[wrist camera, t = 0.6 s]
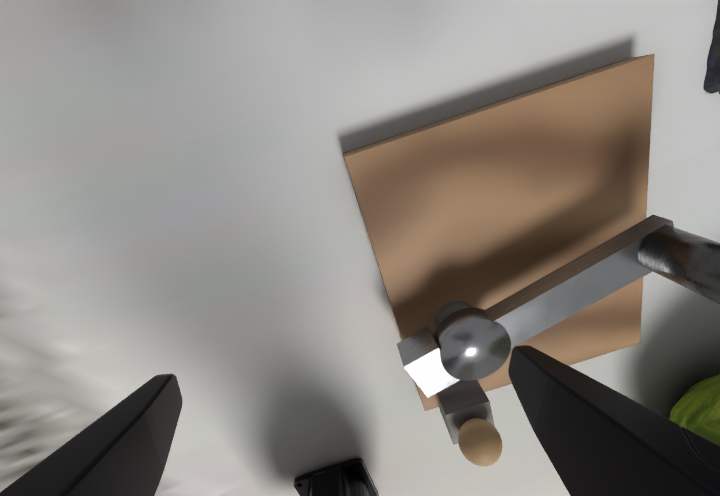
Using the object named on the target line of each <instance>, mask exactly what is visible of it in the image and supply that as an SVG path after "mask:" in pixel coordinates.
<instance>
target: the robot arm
mask: <svg viewBox="0 0 720 496" xmlns="http://www.w3.org/2000/svg"><path fill="white" fill-rule="evenodd" d="M508 374H509V378H510V380H511V382H512V384H513V387H514V389H515V391H516V393H517V396H518V398H519V400H520V402H521V404H522V407H523V409H524V411H525V413H526V415H527V418H528V420H529V422H530V424H531V426H532V428H533V430H534V432H535V434H536V436H537V438H538V440H539V441H540V443H541V445H542V447H543V448H544V450H545V452H546V454H547V455H548V457H549V459H550V461H551V462H552V464H553V466H554V468H555V469H556V471H557V473H558V474H559V476H560V478H561V480H562V481H563V483H564V485H565V487H566V488H567V490H568V492H569V494H570V495H571V496H720V446H719V445H717V444H715V443H713V442H711V441H709V440H707V439H705V438H703V437H701V436H700V435H698V434H696V433H694V432H692V431H690V430H688V429H687V428H685V427H680V425H679V424H677V423H675V422H673V421H671V420H669V419H667V418H666V417H664V416H662V415H660V414H658V413H656V412H654V411H652V410H651V409H649V408H647V407H645V406H643V405H641V404H639V403H637V402H635V401H634V400H632V399H630V398H628V397H626V396H624V395H622V394H620V393H618V392H617V391H615V390H613V389H611V388H609V387H607V386H605V385H603V384H601V383H600V382H598V381H596V380H594V379H592V378H590V377H588V376H586V375H585V374H583V373H581V372H579V371H577V370H575V369H573V368H571V367H569V366H568V365H566V364H564V363H562V362H560V361H558V360H556V359H554V358H552V357H551V356H549V355H547V354H545V353H543V352H541V351H539V350H537V349H535V348H534V347H532V346H529V345H521V346H515V347H514V348H513V349H512V353H511V358H510V363H509V368H508ZM181 408H182V396H181V392H180V389H179V385H178V381H177V378H176V376H175V375H174V374H162V375H156V376H155V377H153V378H152V379H150V380H149V381H148V382H146V383H145V384H144V385H142V386H141V387H140V388H138V389H137V390H136V391H134V392H133V393H132V394H130V395H129V396H128V397H127V398H125V399H124V400H123V401H121V402H120V403H119V404H117V405H116V406H115V407H113V408H112V409H111V410H109V411H108V412H107V413H105V414H104V415H103V416H101V417H100V418H99V419H97V420H96V421H95V422H93V423H92V424H91V425H89V426H88V427H87V428H85V429H84V430H83V431H81V432H80V433H79V434H77V435H76V436H75V437H73V438H72V439H71V440H69V441H68V442H67V443H65V444H64V445H63V446H61V447H60V448H59V449H57V450H56V451H55V452H53V453H52V454H51V455H49V456H48V457H47V458H45V459H44V460H43V461H42V462H40V463H39V464H38V465H36V466H35V467H34V468H32V469H31V470H30V471H28V472H27V473H26V474H24V475H23V476H22V477H20V478H19V479H18V480H16V481H15V482H14V483H12V484H11V485H10V486H8V487H7V488H6V489H4V490H3V491H2V492H0V496H154V495H155V492H156V490H157V487H158V485H159V482H160V479H161V477H162V474H163V471H164V468H165V465H166V461H167V458H168V454H169V451H170V447H171V444H172V440H173V437H174V433H175V429H176V426H177V422H178V419H179V415H180V412H181ZM294 487H295V488H296V490H297V491H298V493H299V495H300V496H379V495H378V493H377V491H376V489H375V487H374V484H373V482H372V480H371V478H370V476H369V474H368V472H367V469H366V467H365V465H364V463H363V461H362V460H361V459H354V460H351V461H348V462H345V463H341V464H338V465H335V466H332V467H329V468H326V469H322V470H319V471H316V472H313V473H310V474H307V475H303V476H300V477H297V478H296V479H295V481H294Z"/></svg>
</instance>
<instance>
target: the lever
mask: <svg viewBox="0 0 720 496" xmlns="http://www.w3.org/2000/svg"><path fill="white" fill-rule="evenodd" d="M652 271H653V272H655V273H657V274H660V275H662V276H664V277H666V278H668V279H670V280H672V281H674V282H676V283H678V284H680V285H682V286H684V287H686V288H688V289H690V290H692V291H694V292H696V293H698V294H700V295H702V296H704V297H706V298H708V299H711V300H713V301H715V302H717V303H719V304H720V243H718V242H715V241H712V240H709V239H706V238H703V237H700V236H697V235H694V234H691V233H689V232H686V231H683V230H680V229H677V228H674V225H673V221H671V220H668V219H665V218H662V217H659V216H656V215H651V216H650V217H648V218H646V219H644V220H643V221H641V222H639V223H637V224H636V225H634V226H632V227H630V228H629V229H627V230H625V231H623V232H621V233H620V234H618V235H616V236H614V237H613V238H611V239H609V240H607V241H606V242H604V243H602V244H600V245H599V246H597V247H595V248H593V249H592V250H590V251H588V252H586V253H584V254H583V255H581V256H579V257H577V258H576V259H574V260H572V261H570V262H569V263H567V264H565V265H563V266H562V267H560V268H558V269H556V270H555V271H553V272H551V273H549V274H547V275H546V276H544V277H542V278H540V279H539V280H537V281H535V282H533V283H532V284H530V285H528V286H526V287H525V288H523V289H521V290H519V291H518V292H516V293H514V294H512V295H510V296H509V297H507V298H505V299H503V300H502V301H500V302H498V303H496V304H495V305H493V306H491V307H489V308H488V309H486V310H484V309H481V308H464V309H460V310H458V311H455V312H453V313H451V314H450V315H448V316H447V317H446V318H444V319H443V320H442V322H441V323H440V324H439V325H438V327H437V329H436V331H435V334H434V335H433V334H432V332H431V331H430V329H429V328H428V326H427V327H425V328H424V329H422V330H420V331H419V332H417V333H415V334H413V335H412V336H410V337H408V338H406V339H405V340H403V341H401V342H399V343H398V344H397V346H398V350H399V353H400V356H401V359H402V362H403V365H404V368H405V369H406V370H407V371H408V373H409V374H410V375H411V377H412V378H413V379H414V381H415V382H416V383H417V385H418V386H419V387H420V388H421V390H422V391H423V392H424V394H425V395H426V396H427V398H429V397H430V396H432V395H434V394H436V393H438V392H440V391H442V390H443V389H445V388H447V387H449V386H451V385H453V384H454V383H456V382H458V381H460V380H467V381H470V380H478V379H482V378H484V377H487V376H489V375H491V374H492V373H494V372H495V371H497V370H498V369H499V368H500V367H501V366H502V365H503V364H504V363H505V361H506V360H507V358H508V356H509V354H510V350H511V348H513V347H515V346H517V345H519V344H520V343H522V342H524V341H526V340H528V339H530V338H531V337H533V336H535V335H537V334H539V333H540V332H542V331H544V330H546V329H548V328H550V327H551V326H553V325H555V324H557V323H559V322H561V321H562V320H564V319H566V318H568V317H570V316H572V315H573V314H575V313H577V312H579V311H581V310H583V309H584V308H586V307H588V306H590V305H592V304H594V303H595V302H597V301H599V300H601V299H603V298H605V297H606V296H608V295H610V294H612V293H614V292H616V291H617V290H619V289H621V288H623V287H625V286H627V285H628V284H630V283H632V282H634V281H636V280H638V279H639V278H641V277H643V276H645V275H647V274H648V273H650V272H652Z"/></svg>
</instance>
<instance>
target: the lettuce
mask: <svg viewBox="0 0 720 496" xmlns="http://www.w3.org/2000/svg"><path fill="white" fill-rule="evenodd" d="M669 420H671V421H673V422H675V423H677V424H679V425H680V427H685V428H687V429H688V430H690V431H692V432H694V433H696V434H698V435H700V436H701V437H703V438H705V439H707V440H709V441H711V442H713V443H715V444H717V445H719V446H720V375H716V376H713V377H710V378H706V379H704V380H702V381H700V382H698V383H696V384H694V385H692V386H691V387H690V388H689V390H688V391H687V392H686V393H685V394H684V395H683V396H682V397H681V399H680V400H679V401H678V402H677V403H676V404H675V405H674V407H673V408H672V409H671V413H670V417H669Z"/></svg>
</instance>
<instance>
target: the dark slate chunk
mask: <svg viewBox="0 0 720 496" xmlns="http://www.w3.org/2000/svg"><path fill="white" fill-rule="evenodd" d="M704 90H705V91H706V92H708V93H715V92H718V91H720V0H718V6H717V15H716V21H715V25H714V29H713V39H712V43H711V46H710V51H709V54H708V59H707V72H706V76H705V81H704ZM719 94H720V93H719Z"/></svg>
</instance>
